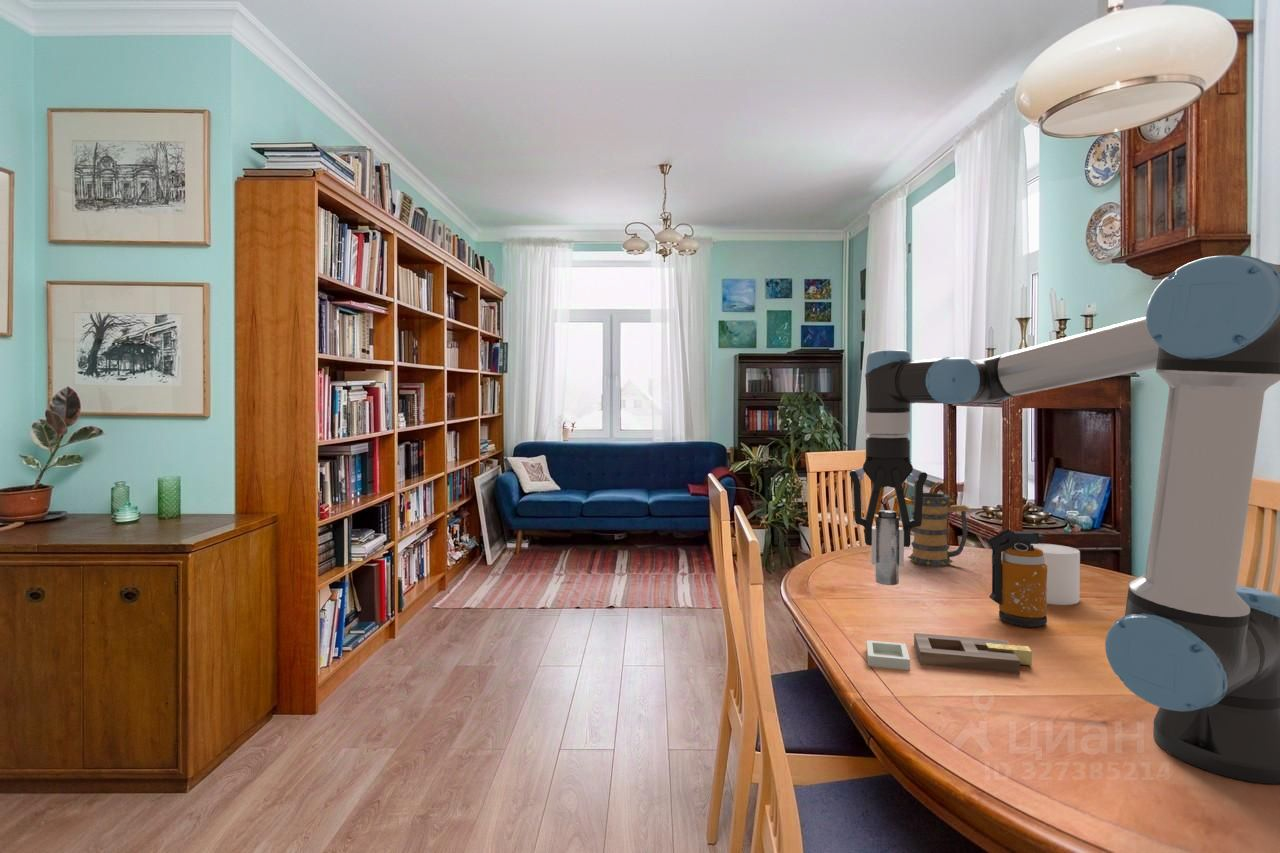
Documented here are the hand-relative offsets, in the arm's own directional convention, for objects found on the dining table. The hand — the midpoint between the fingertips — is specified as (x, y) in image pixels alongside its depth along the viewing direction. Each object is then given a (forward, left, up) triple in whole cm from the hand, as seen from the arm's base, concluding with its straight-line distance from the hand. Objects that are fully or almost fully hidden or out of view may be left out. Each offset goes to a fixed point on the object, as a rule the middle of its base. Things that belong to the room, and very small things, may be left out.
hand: (887, 563), depth 121 cm
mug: (+82, -20, -19) cm, 86 cm away
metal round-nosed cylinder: (0, 0, -4) cm, 4 cm away
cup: (+52, -41, -19) cm, 69 cm away
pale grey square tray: (0, 0, -19) cm, 19 cm away
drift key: (+4, -21, -19) cm, 28 cm away
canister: (+31, -29, -19) cm, 46 cm away
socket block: (+4, -14, -19) cm, 23 cm away
